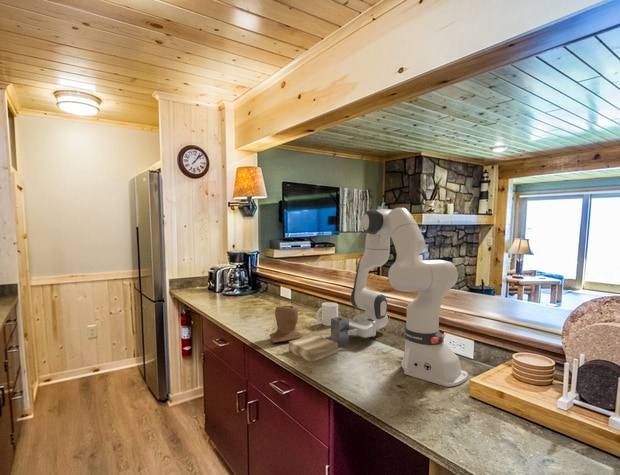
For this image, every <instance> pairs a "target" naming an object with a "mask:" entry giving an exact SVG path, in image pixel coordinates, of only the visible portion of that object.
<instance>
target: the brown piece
mask: <svg viewBox="0 0 620 475" xmlns="http://www.w3.org/2000/svg"><path fill="white" fill-rule="evenodd" d="M274 316H275V317H274V318H275V322H276V328H277V329H276V330H275V332H272V333H270V334H269V338H270V341H271V343H273V344H274V343H280V342H287V341H288V342H289V341H293V340H296V339H300V338H303V334H302V333H300V332H298V331H297V329H296V326H297V323H298V320H299V310H298V307H297V306H296V305H278V306H276V307H275V311H274Z"/></svg>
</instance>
